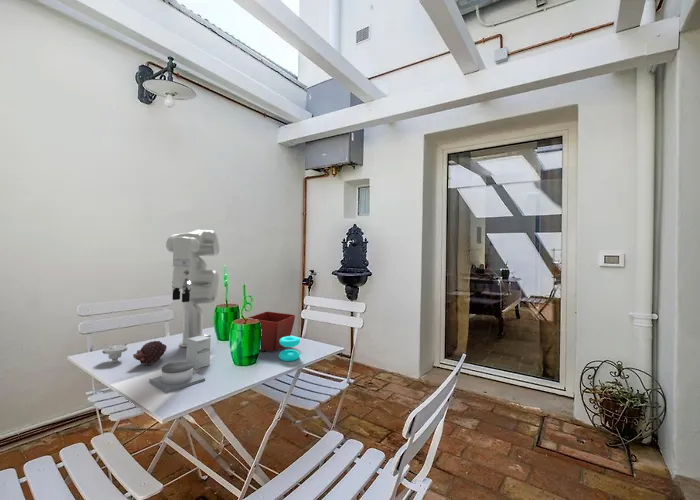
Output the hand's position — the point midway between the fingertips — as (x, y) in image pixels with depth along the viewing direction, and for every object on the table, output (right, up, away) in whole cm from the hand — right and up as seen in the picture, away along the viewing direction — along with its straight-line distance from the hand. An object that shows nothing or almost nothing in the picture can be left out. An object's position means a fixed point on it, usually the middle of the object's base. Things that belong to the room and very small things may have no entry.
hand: (180, 300), depth 154 cm
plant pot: (+35, -30, +27) cm, 53 cm away
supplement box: (+9, -29, -2) cm, 31 cm away
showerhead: (-30, -28, 0) cm, 41 cm away
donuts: (+48, -30, +11) cm, 58 cm away
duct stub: (+8, -29, -19) cm, 36 cm away
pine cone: (-13, -29, -1) cm, 31 cm away
